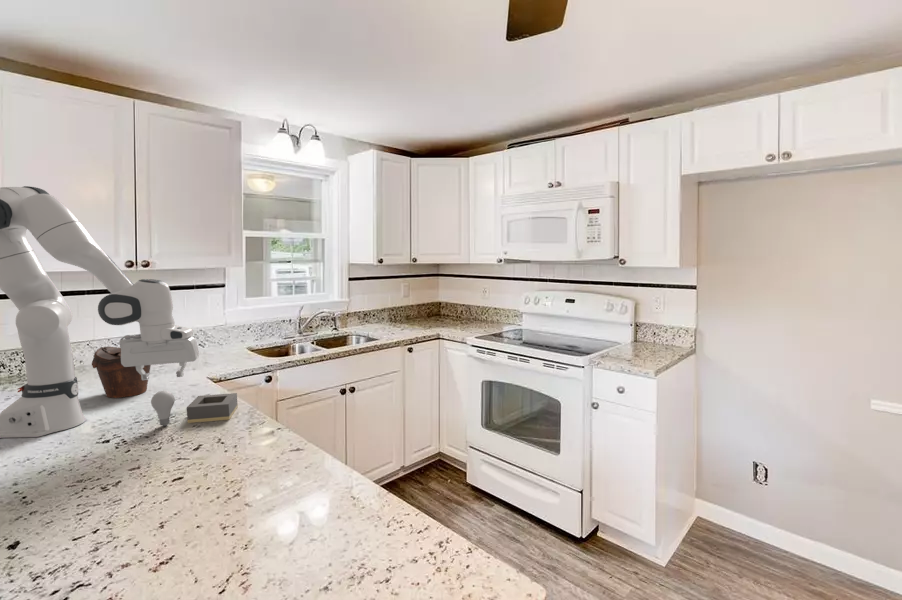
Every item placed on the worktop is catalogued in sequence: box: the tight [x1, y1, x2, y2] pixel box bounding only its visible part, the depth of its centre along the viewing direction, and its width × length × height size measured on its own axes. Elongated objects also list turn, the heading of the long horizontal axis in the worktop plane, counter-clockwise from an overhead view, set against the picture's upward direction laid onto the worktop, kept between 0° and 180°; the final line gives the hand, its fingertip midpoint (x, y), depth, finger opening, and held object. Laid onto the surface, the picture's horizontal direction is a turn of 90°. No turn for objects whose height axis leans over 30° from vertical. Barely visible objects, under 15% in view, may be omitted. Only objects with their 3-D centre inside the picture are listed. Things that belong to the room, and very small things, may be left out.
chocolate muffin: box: [91, 346, 152, 399], centre depth 174 cm, size 18×20×18 cm
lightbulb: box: [150, 390, 176, 427], centre depth 140 cm, size 6×6×11 cm
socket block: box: [186, 392, 239, 424], centre depth 150 cm, size 12×12×5 cm
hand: (163, 378), depth 139 cm, fingers open, 8 cm apart
